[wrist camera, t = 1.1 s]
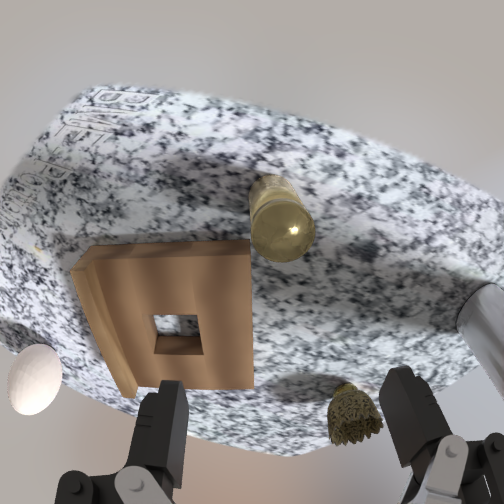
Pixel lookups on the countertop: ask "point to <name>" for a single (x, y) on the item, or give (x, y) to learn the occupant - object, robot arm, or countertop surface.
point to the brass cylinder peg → (279, 220)
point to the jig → (170, 312)
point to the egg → (34, 379)
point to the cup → (352, 415)
